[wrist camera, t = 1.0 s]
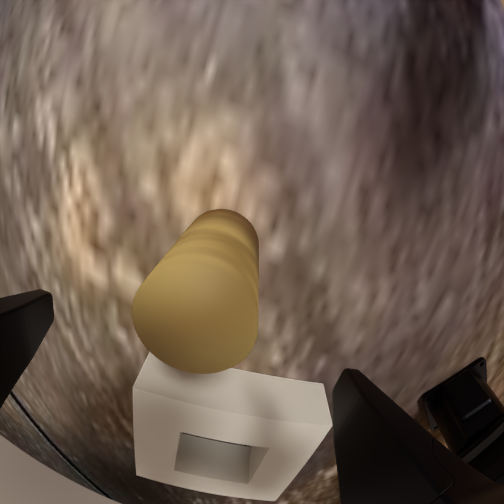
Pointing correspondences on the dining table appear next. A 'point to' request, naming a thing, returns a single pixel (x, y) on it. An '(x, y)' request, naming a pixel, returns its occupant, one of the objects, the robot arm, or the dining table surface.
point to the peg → (203, 296)
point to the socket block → (225, 429)
